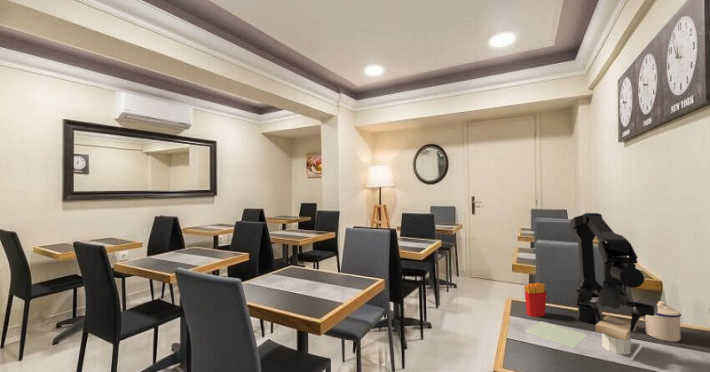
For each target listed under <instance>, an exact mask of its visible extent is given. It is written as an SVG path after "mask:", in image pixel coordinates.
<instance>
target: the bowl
mask: <svg viewBox="0 0 710 372" xmlns="http://www.w3.org/2000/svg"><path fill="white" fill-rule="evenodd" d="M601 344H602V347H603V349H605V350H607V351H609V352H612V353H615V354H620V355H630V354H632V337H631V336H630V337H629V338H628V339H627V340H623V339H619V338H616V337H612V336H609V335H605V334H602V333H601Z"/></svg>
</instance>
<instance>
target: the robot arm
mask: <svg viewBox="0 0 710 372" xmlns="http://www.w3.org/2000/svg"><path fill="white" fill-rule="evenodd" d="M569 224H570V228H571V231H572V234H573V235H574V236H575V238H576V239H577V244H578V246H577V247H578V259H579V260H578V261H579V273H580V278H578V279H579V280H578V281H577V282H576V284H575V289H574V292H572V293H573V294H572V296H571V300H572V303H573V304H574V305H575V306H577V308H578V309H577V311H578V312H577V313H578V314H577V317H575V318H574V319H575V320H576V321H579V322H582V323H586V324H591V325H596V324H597V323H599V322H600V321H601V320H602V319H603V318H604V317H603V308H604V307H606V308H607V307H608V308H612V309H614V310H618V309H620V307H621V306H624V307H629V308H633V310H632V311H631V313H630V314H631V318H630V319H631V320H630V321H631V327H630V328H631V333H632V334H633V333H634V332H635V331H634V329H635V327H636V328H637V324H638V322H639V320H640V319H641V317H643V316H646V315H650V316H655V314H656V313H657V312H658V306H657V304H658V303H656V302H655V301H653V300H651V301H650V300H647V299H641V298H640V299H638V301H634V300H630V296H629V293H628V288H630V289H632V288H633V289H635V288H639V287H641V286H642V285H643V284H644V282H645V276H644V274H643V272H642V271H641V270H640V269H638V268H636V264H638V260H637V259H638V256H637V254H636V252H635V250H634V248H633V246H632V243H631V242H630V241H629V240H628V239H627V238H625V236H623V235H622V234H618V233H616V232H614V231H613V230H612V228H611V227H610V225H608V224H607V222H606V221H605V220H604V219H603V215H602V214H601V213H599V212H586V213H583V214H581V215H578V216H574V217H573V218H571V220H570V223H569ZM595 238H596V239H597V240H598V244H597V248H598V252H599V253H600V256H601V257H602V258H601V260H602V261H603V281H602V285H601V284H599V282H598V281H597V278H596V267H595V266H596V264H595V251H594V239H595ZM633 331H634V332H633Z"/></svg>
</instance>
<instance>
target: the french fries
mask: <svg viewBox="0 0 710 372" xmlns="http://www.w3.org/2000/svg"><path fill="white" fill-rule="evenodd" d="M523 287H524V297H525V308H526V315H527V316H529V317H534V318H538V317H543V316H545V315H546V304H547V291H546V290H545V288H546V283H541V282H534V283H533V282H531V283H528V284H526V285H524V286H523Z"/></svg>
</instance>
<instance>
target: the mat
mask: <svg viewBox="0 0 710 372" xmlns="http://www.w3.org/2000/svg"><path fill="white" fill-rule="evenodd" d="M523 332H524V333H527V334H530V335H533V336H536V337H539V338H542V339H545V340H547V341H551V342H554V343H556V344H559V345H563V346H566V347H568V348H571V349H574V348H575V347H576V346H578V345H579V344H580V343H581V342H583V341H584V340H585V339H586V338H587V337H588V336H589V335H588V334H587V333H586V334H585V333H582V332H579V331H576V330H572V329H569V328H565V327H562V326H558V325H557V324H552V323H548V322H546V321H542V320H541V321H539V322H537V323H536V324H534V325H532V326H531V327H529V328H528V329H526V330H524V331H523Z"/></svg>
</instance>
